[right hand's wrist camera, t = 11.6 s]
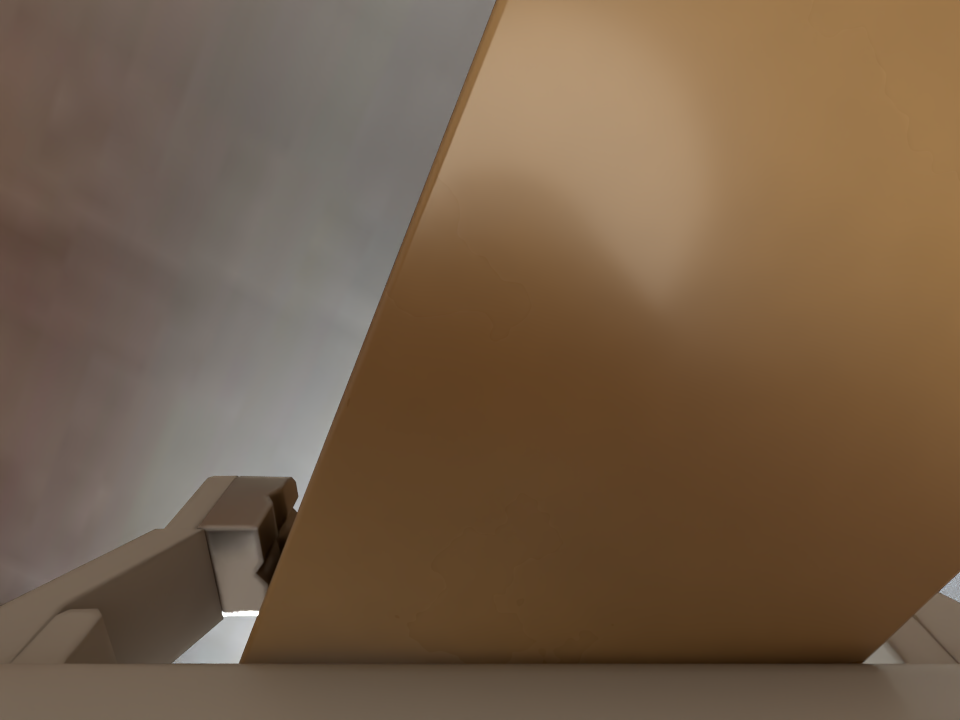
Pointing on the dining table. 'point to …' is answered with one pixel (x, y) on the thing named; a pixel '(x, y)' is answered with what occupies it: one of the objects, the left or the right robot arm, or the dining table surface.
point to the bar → (655, 352)
